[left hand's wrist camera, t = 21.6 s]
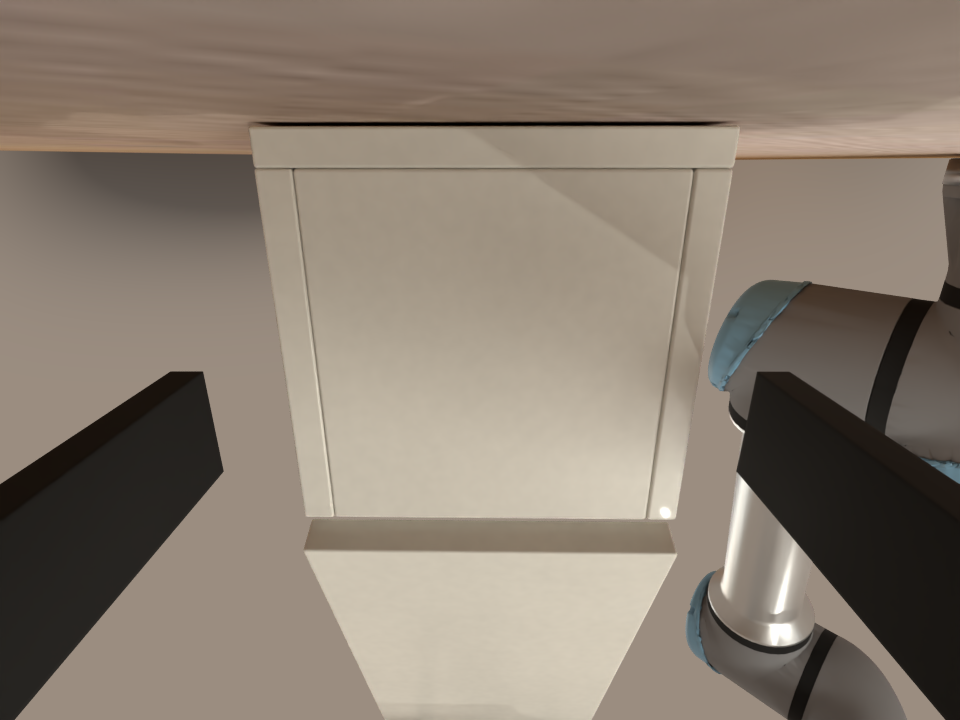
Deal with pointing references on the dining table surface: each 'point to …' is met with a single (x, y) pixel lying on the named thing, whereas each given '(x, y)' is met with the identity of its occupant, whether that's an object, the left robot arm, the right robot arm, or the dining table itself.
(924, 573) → the left robot arm
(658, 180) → the chest
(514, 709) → the lid
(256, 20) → the dining table surface
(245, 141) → the dining table surface
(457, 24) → the dining table surface
